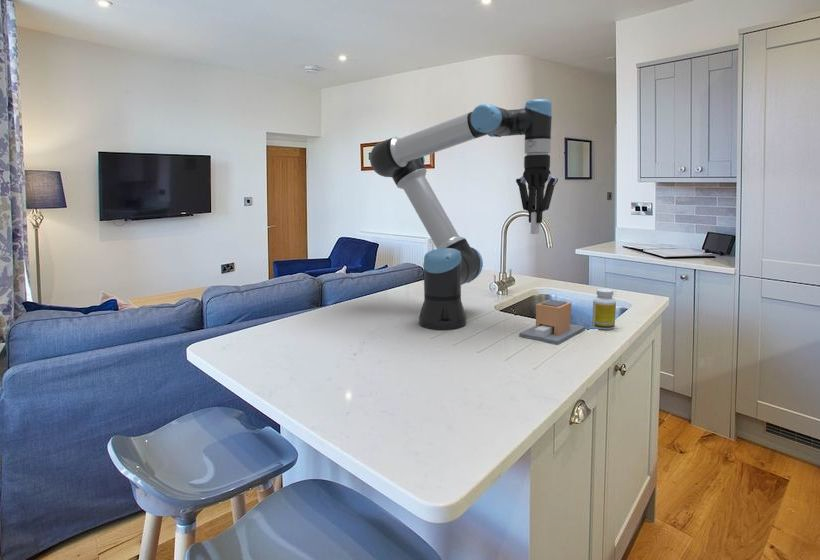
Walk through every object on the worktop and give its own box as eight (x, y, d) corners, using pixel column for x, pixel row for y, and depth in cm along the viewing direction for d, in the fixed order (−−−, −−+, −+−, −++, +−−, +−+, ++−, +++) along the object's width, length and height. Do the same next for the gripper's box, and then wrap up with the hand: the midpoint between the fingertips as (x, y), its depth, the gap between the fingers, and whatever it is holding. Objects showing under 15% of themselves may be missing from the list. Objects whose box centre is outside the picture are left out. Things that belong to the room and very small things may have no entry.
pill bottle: (616, 330, 150) (618, 292, 147) (593, 330, 151) (595, 292, 149) (612, 324, 156) (614, 288, 154) (590, 324, 157) (592, 287, 155)
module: (535, 330, 147) (536, 303, 146) (548, 324, 153) (549, 298, 152) (557, 335, 143) (558, 307, 141) (570, 329, 149) (571, 301, 147)
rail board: (519, 336, 146) (519, 326, 145) (548, 323, 159) (548, 313, 158) (557, 344, 138) (558, 334, 137) (585, 329, 151) (585, 320, 150)
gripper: (511, 155, 151) (510, 233, 156) (551, 153, 142) (548, 236, 147) (524, 155, 156) (522, 231, 161) (563, 153, 148) (560, 233, 152)
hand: (534, 233), depth 154 cm, fingers closed
